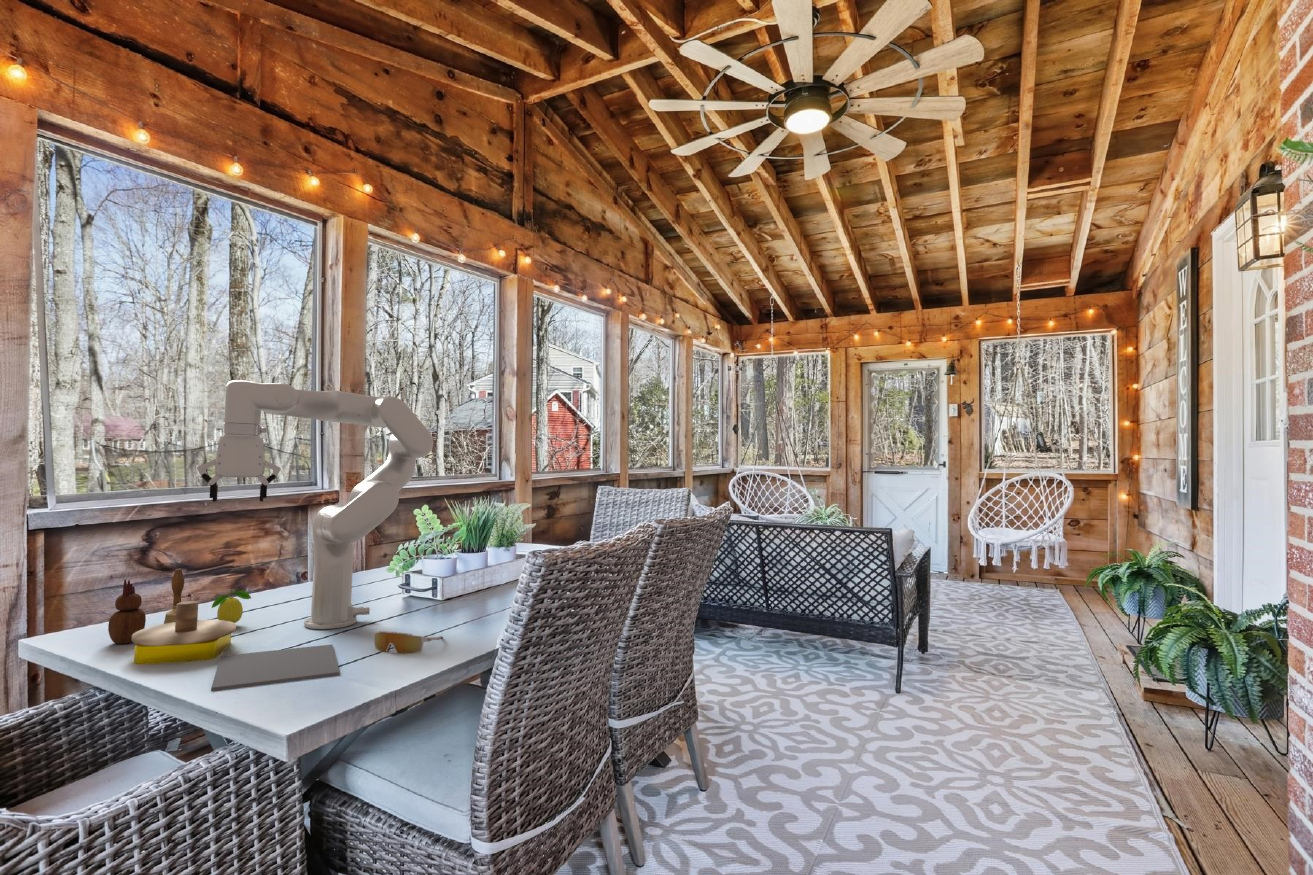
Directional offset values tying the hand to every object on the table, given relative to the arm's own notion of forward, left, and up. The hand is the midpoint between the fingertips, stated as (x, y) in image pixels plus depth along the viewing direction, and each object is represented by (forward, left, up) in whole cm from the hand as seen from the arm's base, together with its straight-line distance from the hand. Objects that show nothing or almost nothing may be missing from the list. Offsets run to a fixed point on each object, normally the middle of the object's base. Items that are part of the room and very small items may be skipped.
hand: (238, 501), depth 159 cm
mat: (-10, +28, -33) cm, 45 cm away
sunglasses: (-37, +22, -34) cm, 55 cm away
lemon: (+1, -13, -34) cm, 36 cm away
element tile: (+8, +9, -34) cm, 36 cm away
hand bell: (+12, -10, -34) cm, 37 cm away
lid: (+8, +9, -29) cm, 32 cm away
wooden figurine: (+21, -6, -34) cm, 40 cm away
